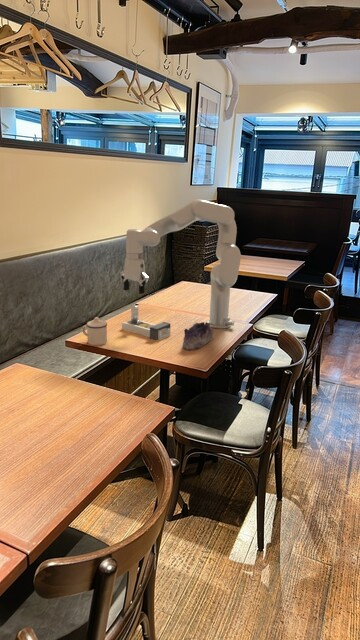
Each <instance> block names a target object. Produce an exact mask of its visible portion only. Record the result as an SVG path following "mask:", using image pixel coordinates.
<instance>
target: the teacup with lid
mask: <svg viewBox="0 0 360 640" xmlns="http://www.w3.org/2000/svg"><path fill="white" fill-rule="evenodd" d="M107 326H108V323H107V322H106V321H105V320H102V319H100V318H99V317H97V316H96V317H94V319H93V320H90V321H88V322H87V323H86V324H85V325H83V327H82V329H81V331H82V333H83V335H84V336H85V337H87V344H88V345H90V346H103V345H106V344H107V342H108V330H107V328H108V327H107ZM85 329H86V330H85Z"/></svg>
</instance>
